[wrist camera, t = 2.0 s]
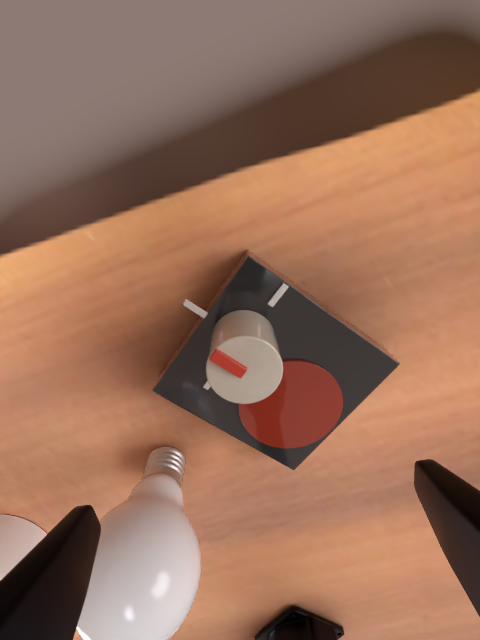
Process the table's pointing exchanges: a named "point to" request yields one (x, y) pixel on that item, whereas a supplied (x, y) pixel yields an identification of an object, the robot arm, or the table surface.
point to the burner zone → (295, 407)
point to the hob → (294, 344)
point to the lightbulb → (144, 560)
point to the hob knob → (244, 358)
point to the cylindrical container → (16, 541)
